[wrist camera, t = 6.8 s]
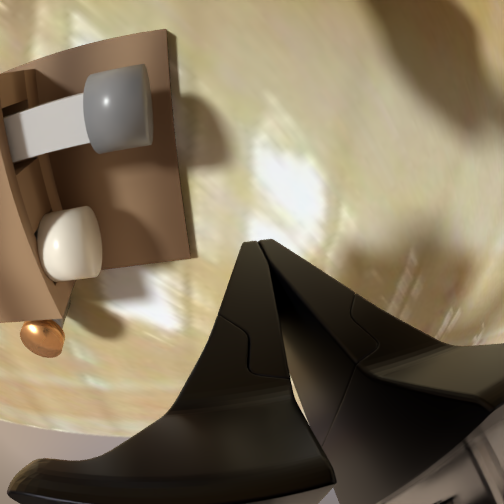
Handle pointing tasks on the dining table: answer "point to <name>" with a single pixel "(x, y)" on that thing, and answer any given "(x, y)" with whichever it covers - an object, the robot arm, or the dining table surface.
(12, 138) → the graphite knob
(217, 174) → the dining table surface
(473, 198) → the dining table surface
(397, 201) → the dining table surface
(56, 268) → the cream knob
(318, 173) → the dining table surface
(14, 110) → the walnut mount
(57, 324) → the copper domed knob
